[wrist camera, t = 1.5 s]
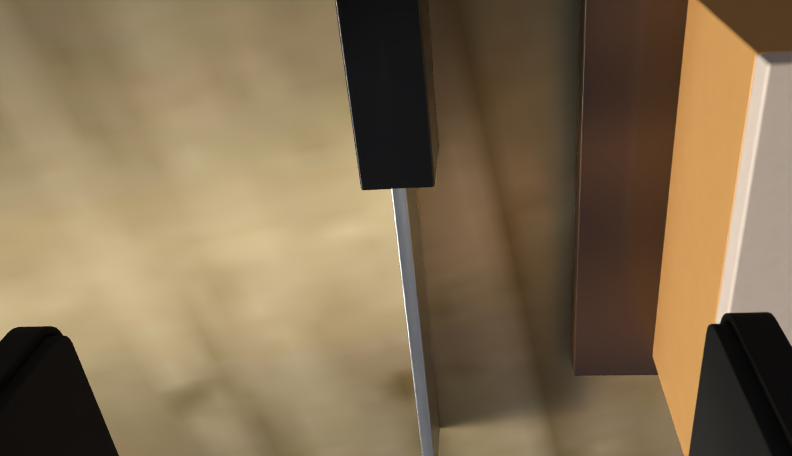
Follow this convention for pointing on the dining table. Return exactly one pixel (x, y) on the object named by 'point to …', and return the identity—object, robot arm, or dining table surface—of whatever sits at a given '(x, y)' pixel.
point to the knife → (397, 152)
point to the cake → (726, 188)
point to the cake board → (623, 178)
